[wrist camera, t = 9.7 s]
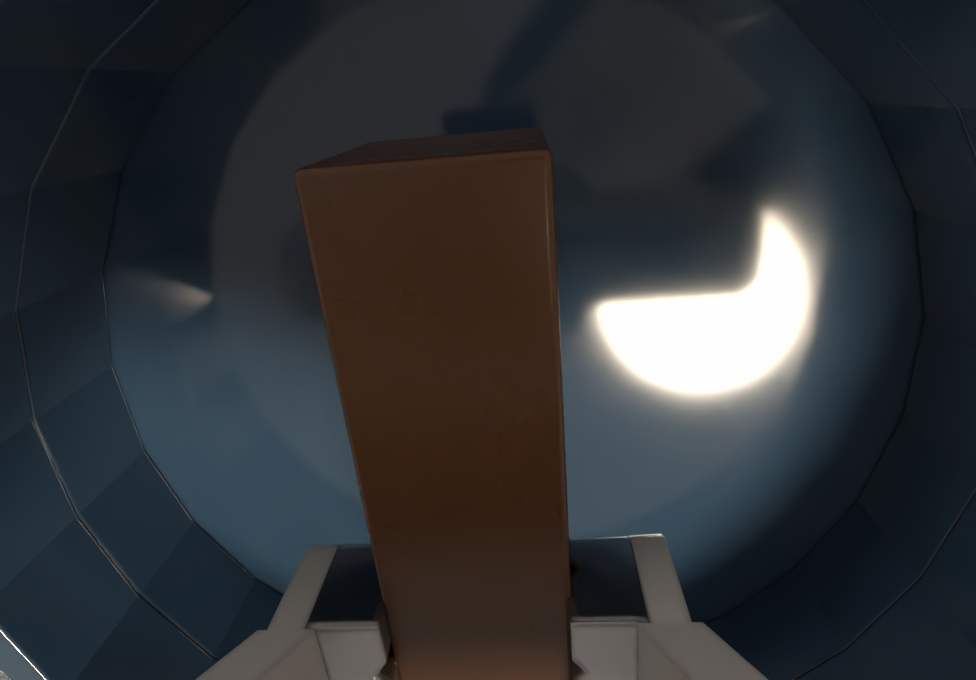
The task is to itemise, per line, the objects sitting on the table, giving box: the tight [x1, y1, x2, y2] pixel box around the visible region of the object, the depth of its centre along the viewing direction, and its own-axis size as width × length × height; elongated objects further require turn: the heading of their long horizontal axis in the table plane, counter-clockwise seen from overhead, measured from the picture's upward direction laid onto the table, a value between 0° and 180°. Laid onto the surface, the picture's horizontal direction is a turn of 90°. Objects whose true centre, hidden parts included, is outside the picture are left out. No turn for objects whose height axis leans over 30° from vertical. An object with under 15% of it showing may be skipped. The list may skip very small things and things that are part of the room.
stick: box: [294, 127, 572, 680], centre depth 9 cm, size 13×2×3 cm, turn 5°
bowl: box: [0, 0, 976, 680], centre depth 12 cm, size 21×21×6 cm
